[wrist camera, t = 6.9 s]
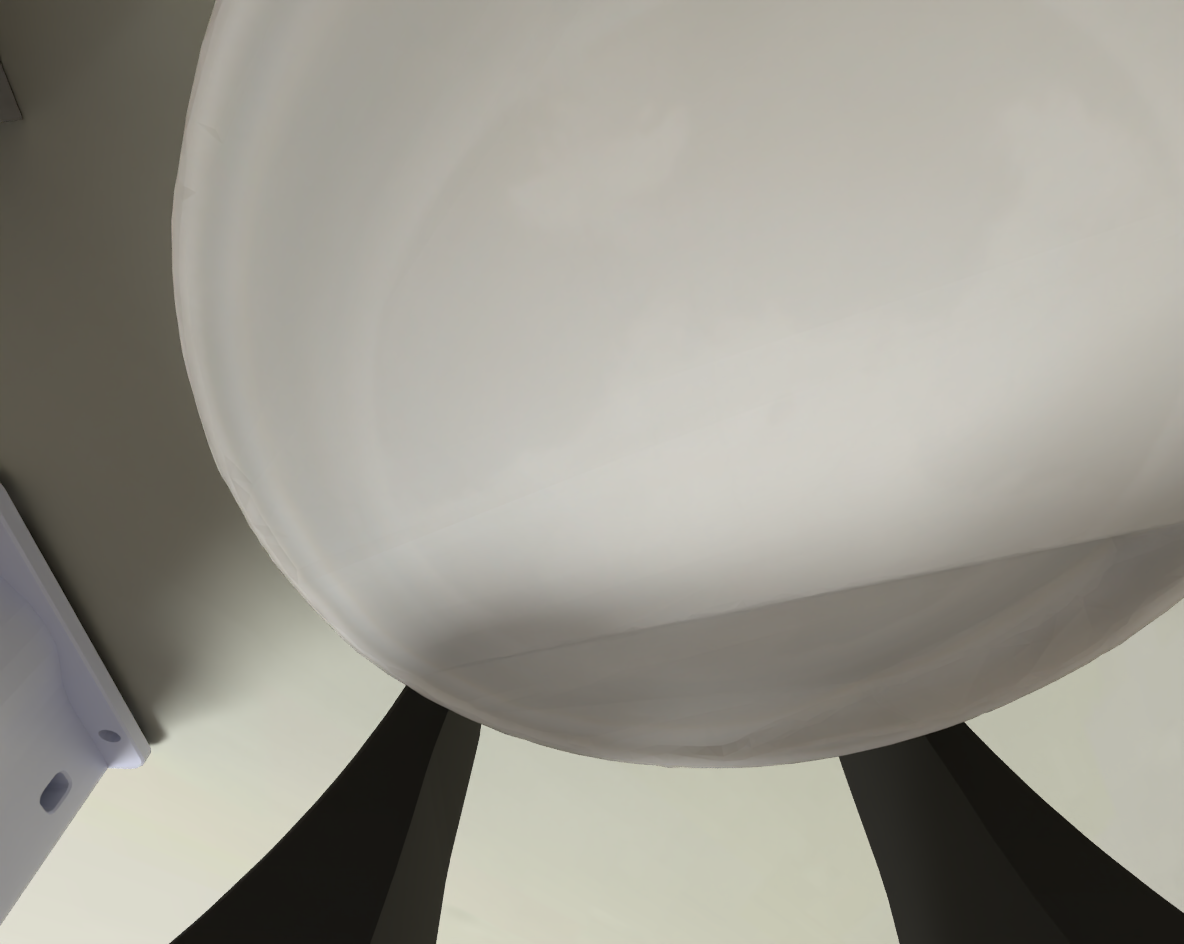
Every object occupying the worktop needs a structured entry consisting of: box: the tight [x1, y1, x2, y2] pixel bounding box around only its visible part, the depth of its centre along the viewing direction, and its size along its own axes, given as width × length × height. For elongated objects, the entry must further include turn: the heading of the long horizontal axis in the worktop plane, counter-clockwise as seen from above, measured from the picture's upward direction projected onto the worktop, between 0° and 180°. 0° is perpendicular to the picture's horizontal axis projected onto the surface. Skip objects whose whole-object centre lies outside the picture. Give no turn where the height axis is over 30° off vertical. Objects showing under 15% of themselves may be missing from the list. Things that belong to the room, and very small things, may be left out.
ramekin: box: [171, 0, 1184, 768], centre depth 8 cm, size 11×11×5 cm
